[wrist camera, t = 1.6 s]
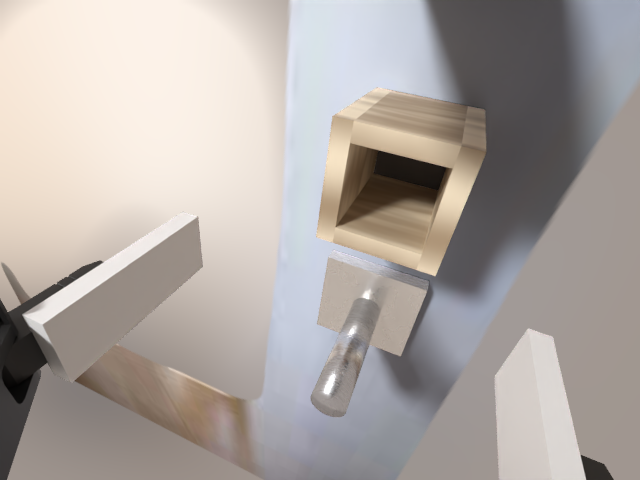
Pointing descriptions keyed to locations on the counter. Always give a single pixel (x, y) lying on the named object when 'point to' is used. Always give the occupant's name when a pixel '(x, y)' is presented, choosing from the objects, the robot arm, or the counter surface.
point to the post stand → (362, 321)
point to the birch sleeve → (395, 195)
